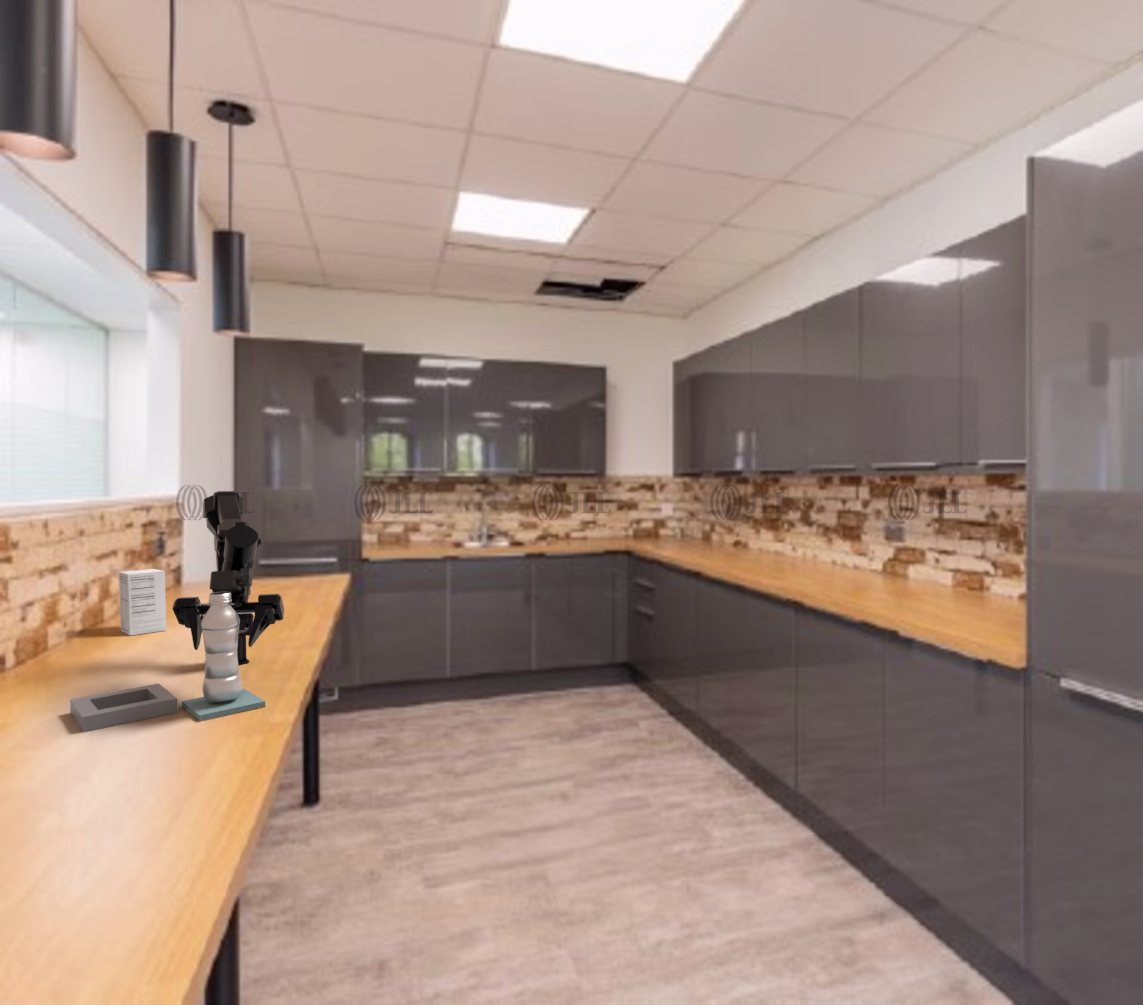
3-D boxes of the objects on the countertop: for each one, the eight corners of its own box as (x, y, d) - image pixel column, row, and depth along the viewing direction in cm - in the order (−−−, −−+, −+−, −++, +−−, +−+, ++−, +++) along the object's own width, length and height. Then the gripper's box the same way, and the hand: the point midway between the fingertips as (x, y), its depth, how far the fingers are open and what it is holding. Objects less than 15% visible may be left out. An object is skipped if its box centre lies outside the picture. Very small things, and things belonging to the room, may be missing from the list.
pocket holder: (159, 696, 134) (158, 683, 134) (177, 712, 125) (177, 698, 125) (70, 713, 124) (70, 699, 124) (83, 731, 115) (82, 717, 115)
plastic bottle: (249, 695, 131) (246, 590, 130) (229, 707, 124) (227, 596, 124) (215, 695, 131) (213, 590, 131) (194, 706, 124) (192, 596, 124)
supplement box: (167, 630, 194) (166, 570, 193) (129, 636, 187) (127, 574, 186) (156, 626, 200) (155, 568, 200) (119, 631, 193) (118, 571, 193)
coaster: (244, 693, 135) (244, 688, 135) (265, 706, 127) (265, 701, 127) (182, 706, 128) (181, 701, 128) (199, 721, 120) (199, 715, 120)
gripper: (174, 555, 130) (155, 625, 120) (280, 552, 135) (270, 620, 124) (188, 590, 138) (171, 659, 128) (287, 586, 143) (279, 652, 132)
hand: (222, 647), depth 128 cm, fingers open, 9 cm apart
